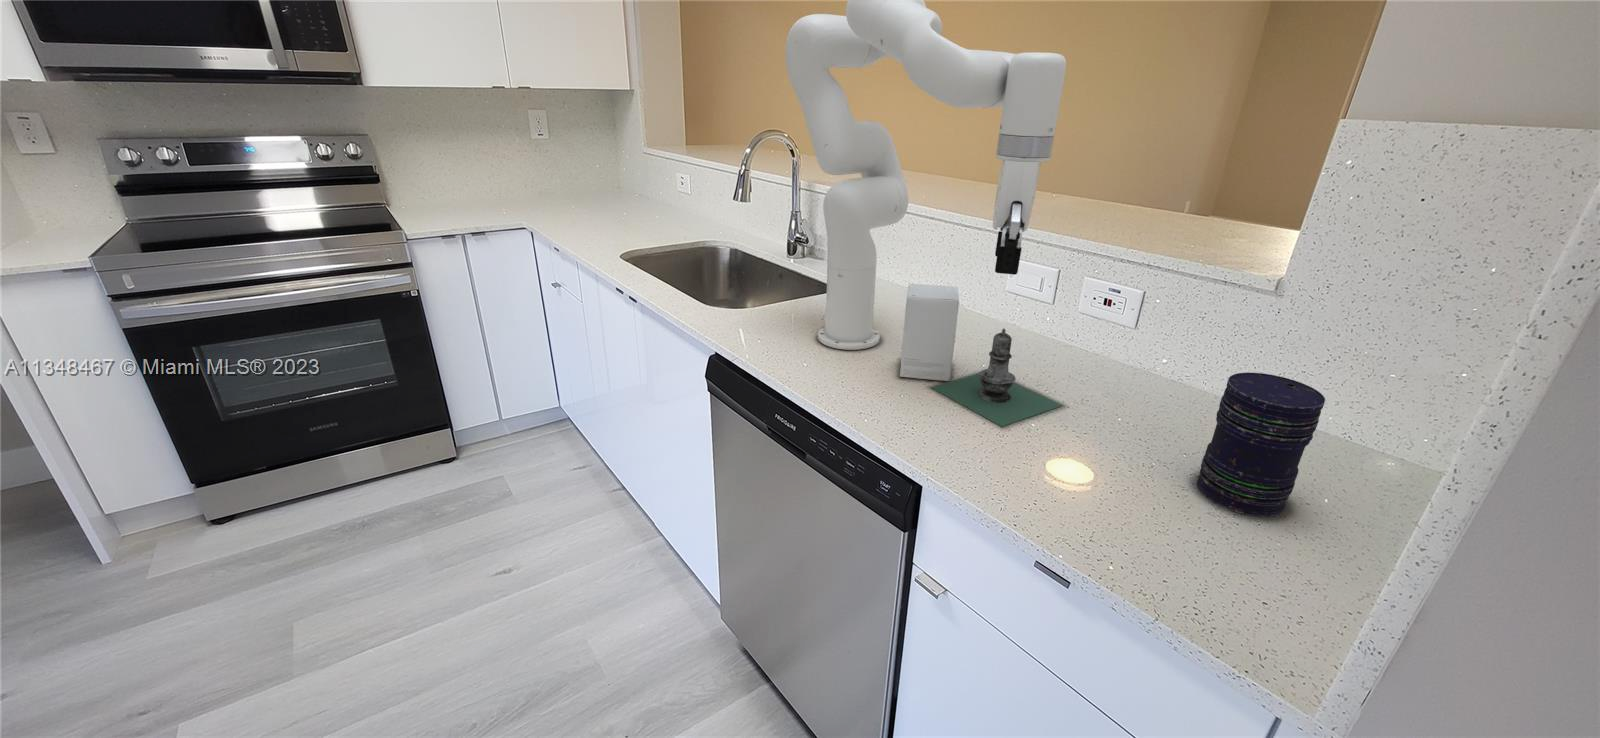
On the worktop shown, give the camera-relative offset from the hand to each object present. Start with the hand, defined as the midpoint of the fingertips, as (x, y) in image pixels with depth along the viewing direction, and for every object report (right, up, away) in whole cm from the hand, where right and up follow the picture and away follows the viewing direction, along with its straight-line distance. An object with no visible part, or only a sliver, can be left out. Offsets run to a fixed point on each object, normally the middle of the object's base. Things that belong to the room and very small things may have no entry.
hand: (1005, 264), depth 100 cm
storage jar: (+25, -32, -17) cm, 44 cm away
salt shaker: (+1, -21, +9) cm, 22 cm away
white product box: (-9, -17, +18) cm, 26 cm away
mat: (+1, -21, +8) cm, 22 cm away
